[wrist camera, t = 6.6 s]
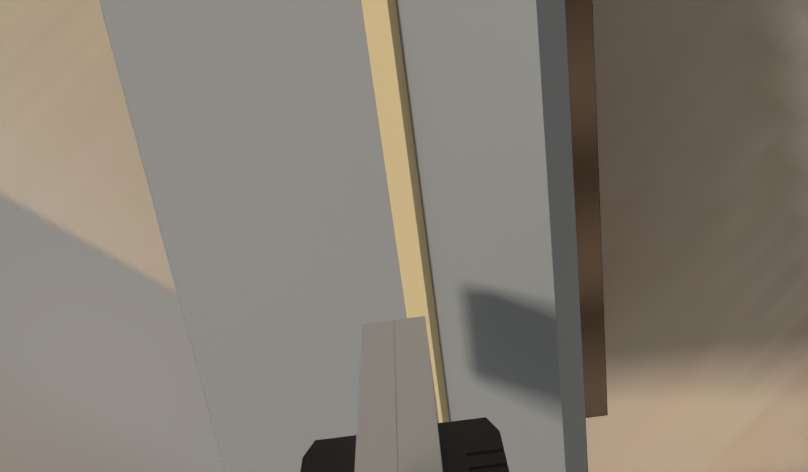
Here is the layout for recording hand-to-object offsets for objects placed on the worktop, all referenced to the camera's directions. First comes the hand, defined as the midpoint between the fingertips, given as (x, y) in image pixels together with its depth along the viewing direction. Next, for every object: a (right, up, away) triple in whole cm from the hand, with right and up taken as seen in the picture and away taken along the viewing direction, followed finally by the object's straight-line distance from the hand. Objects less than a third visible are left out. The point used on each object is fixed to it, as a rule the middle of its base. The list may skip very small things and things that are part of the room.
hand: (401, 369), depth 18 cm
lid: (-2, +2, +6) cm, 7 cm away
